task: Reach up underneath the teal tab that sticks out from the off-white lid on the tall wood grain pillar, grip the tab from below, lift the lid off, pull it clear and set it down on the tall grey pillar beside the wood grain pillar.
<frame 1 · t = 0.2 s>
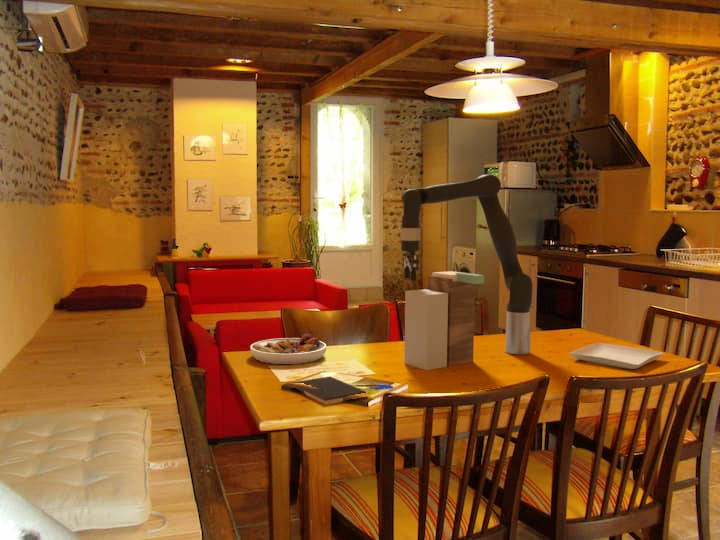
hand: (410, 279, 275), 31 cm above the table, fingers open, 8 cm apart
tall grey pillar: (425, 365, 259), on the table
square plate: (616, 361, 269), on the table
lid: (451, 279, 263), point 32 cm above the table, touching wood grain pillar
hardcover book: (328, 394, 221), on the table
wood grain pillar: (449, 360, 266), on the table
bowl: (288, 358, 271), on the table
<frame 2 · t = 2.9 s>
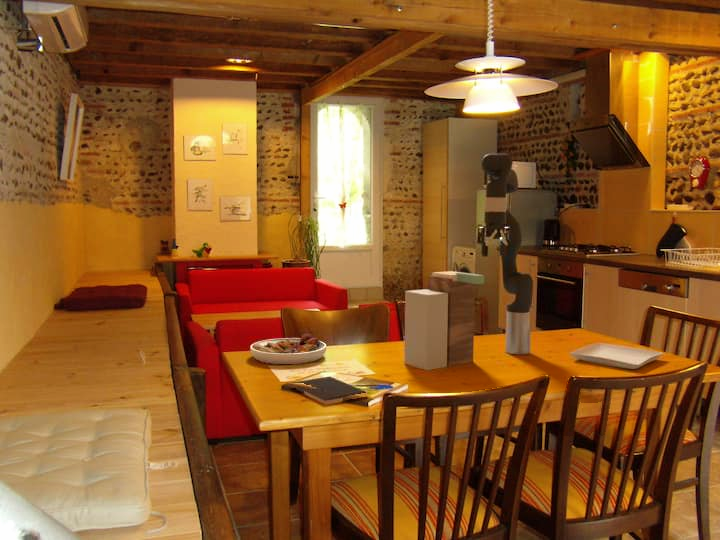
hand: (493, 256, 243), 43 cm above the table, fingers open, 8 cm apart
nothing on the table moved.
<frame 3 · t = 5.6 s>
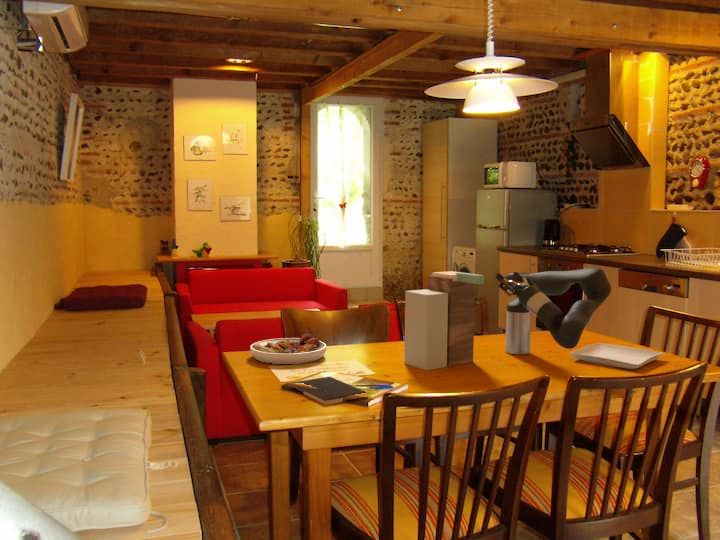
hand: (505, 274, 240), 37 cm above the table, fingers open, 8 cm apart
nothing on the table moved.
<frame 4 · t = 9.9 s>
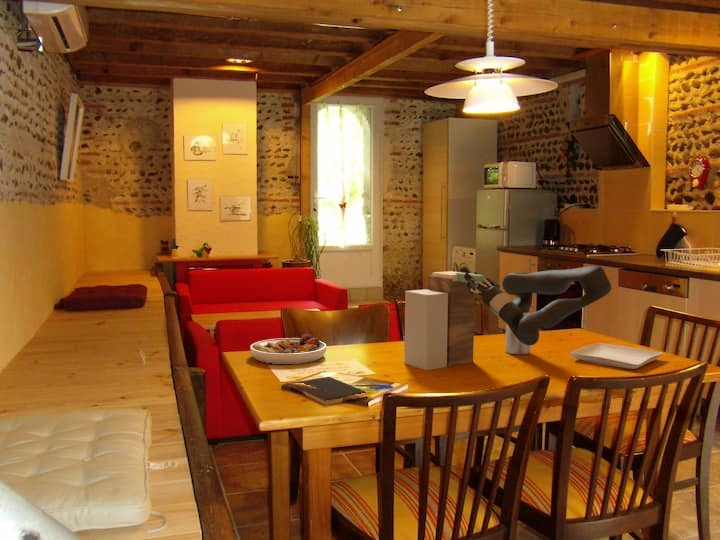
hand: (469, 274, 254), 35 cm above the table, fingers closed on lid, 4 cm apart
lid: (451, 279, 263), point 32 cm above the table, touching gripper, wood grain pillar
everything else where it was.
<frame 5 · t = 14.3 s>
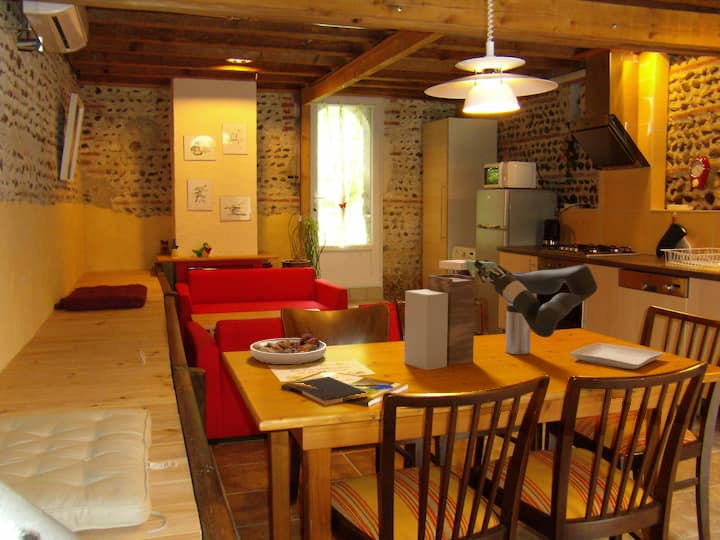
hand: (480, 262, 238), 41 cm above the table, fingers closed on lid, 4 cm apart
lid: (459, 268, 246), point 38 cm above the table, touching gripper
everything else where it was.
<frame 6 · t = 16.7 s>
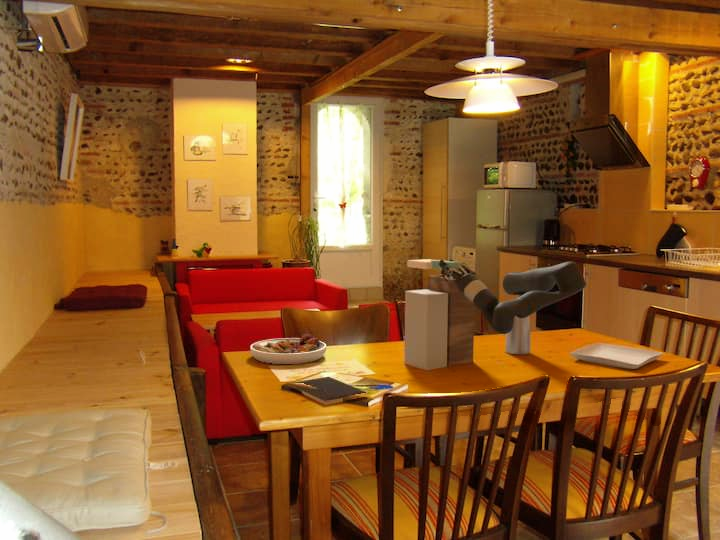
hand: (445, 261, 247), 40 cm above the table, fingers closed on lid, 4 cm apart
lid: (426, 267, 255), point 37 cm above the table, touching gripper
everything else where it was.
when the fingers open (32 cm above the table, at t = 18.7 s): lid drops 1 cm, resting on tall grey pillar.
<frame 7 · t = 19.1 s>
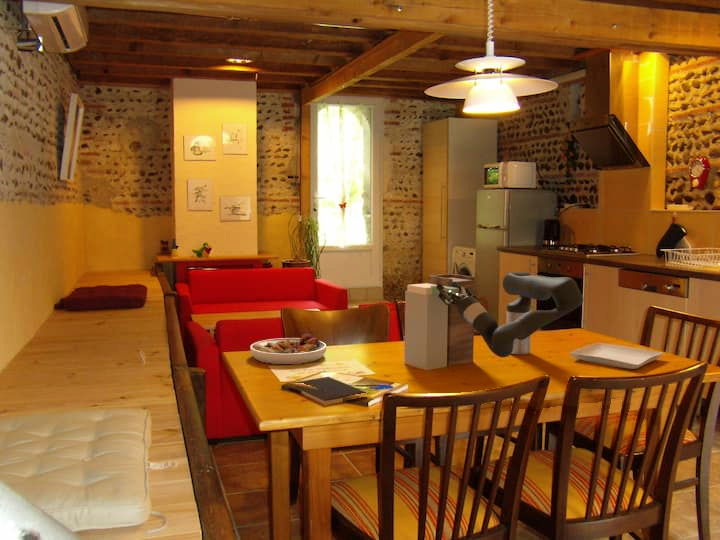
hand: (445, 284, 247), 32 cm above the table, fingers open, 7 cm apart
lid: (426, 292, 256), point 28 cm above the table, touching tall grey pillar
everything else where it was.
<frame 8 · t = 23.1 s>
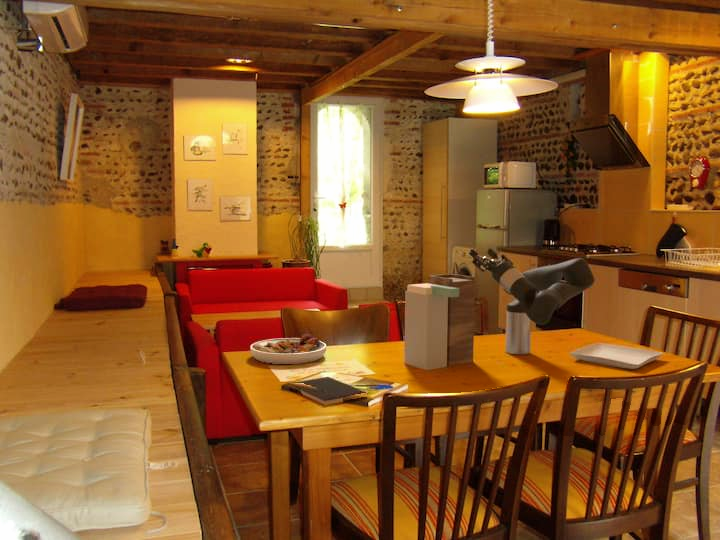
hand: (479, 250, 237), 45 cm above the table, fingers open, 8 cm apart
nothing on the table moved.
at the end: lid inside the target area on the tall grey pillar (0.1 cm from its centre), point 28.0 cm above the tall grey pillar's base; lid touching tall grey pillar; the gripper is holding nothing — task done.
